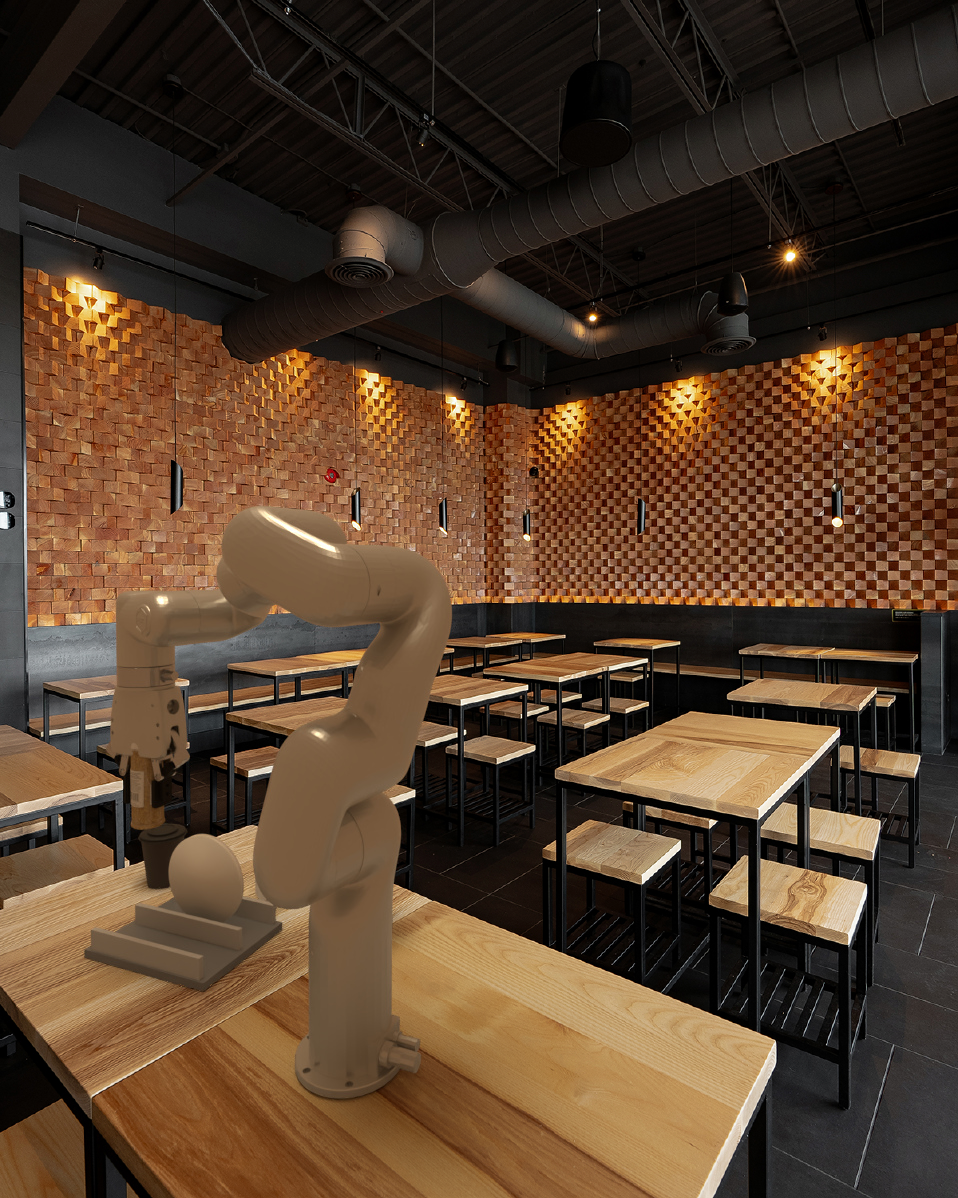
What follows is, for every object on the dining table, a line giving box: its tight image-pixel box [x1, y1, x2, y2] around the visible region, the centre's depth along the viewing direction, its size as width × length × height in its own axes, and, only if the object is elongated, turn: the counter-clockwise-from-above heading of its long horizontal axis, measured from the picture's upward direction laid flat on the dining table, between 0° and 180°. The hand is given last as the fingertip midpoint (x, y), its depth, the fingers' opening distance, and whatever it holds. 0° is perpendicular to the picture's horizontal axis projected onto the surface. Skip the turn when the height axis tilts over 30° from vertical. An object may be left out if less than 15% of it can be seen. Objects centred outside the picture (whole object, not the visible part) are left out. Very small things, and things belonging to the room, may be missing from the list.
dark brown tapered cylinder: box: [137, 822, 188, 890], centre depth 123 cm, size 8×8×10 cm
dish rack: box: [83, 833, 283, 992], centre depth 103 cm, size 22×17×15 cm
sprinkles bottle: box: [130, 743, 166, 831], centre depth 97 cm, size 5×5×13 cm
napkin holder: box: [254, 878, 278, 909], centre depth 119 cm, size 15×11×6 cm
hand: (147, 801), depth 98 cm, fingers closed on sprinkles bottle, 4 cm apart
